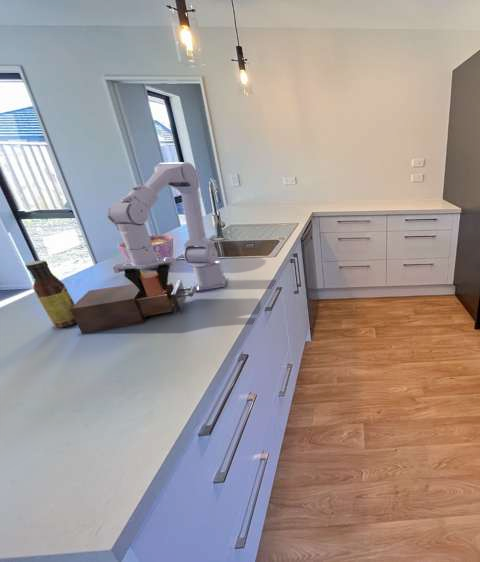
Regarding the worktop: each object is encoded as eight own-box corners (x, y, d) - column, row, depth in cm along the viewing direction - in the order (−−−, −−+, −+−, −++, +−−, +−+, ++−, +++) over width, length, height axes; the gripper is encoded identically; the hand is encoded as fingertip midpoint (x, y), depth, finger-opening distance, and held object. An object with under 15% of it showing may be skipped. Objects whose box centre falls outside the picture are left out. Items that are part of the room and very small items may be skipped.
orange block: (168, 288, 92) (161, 270, 89) (164, 295, 88) (157, 276, 85) (148, 291, 90) (141, 273, 88) (144, 298, 86) (137, 279, 83)
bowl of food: (161, 274, 126) (152, 247, 122) (115, 274, 127) (104, 248, 122) (189, 257, 145) (182, 234, 140) (148, 258, 145) (140, 235, 140)
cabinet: (153, 304, 102) (145, 282, 98) (143, 322, 91) (133, 298, 88) (99, 313, 97) (89, 290, 93) (82, 334, 86) (69, 309, 83)
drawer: (199, 294, 106) (194, 277, 103) (195, 309, 96) (190, 291, 93) (140, 304, 100) (133, 287, 97) (129, 321, 90) (121, 302, 87)
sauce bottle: (87, 319, 93) (58, 259, 85) (62, 330, 88) (29, 267, 80) (73, 316, 95) (44, 257, 87) (49, 326, 90) (14, 265, 82)
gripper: (101, 254, 77) (120, 301, 82) (166, 247, 82) (181, 291, 87) (111, 247, 83) (128, 291, 88) (171, 240, 88) (184, 282, 93)
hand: (155, 290), depth 88 cm, fingers closed on orange block, 5 cm apart
